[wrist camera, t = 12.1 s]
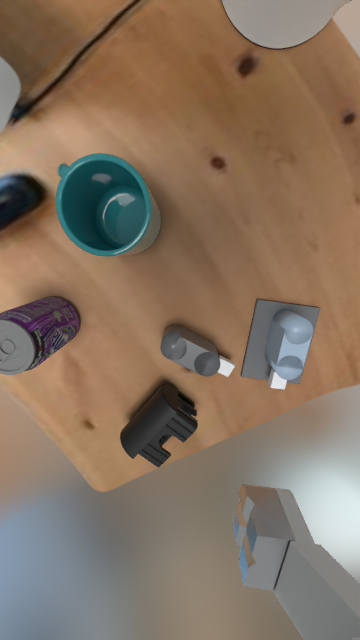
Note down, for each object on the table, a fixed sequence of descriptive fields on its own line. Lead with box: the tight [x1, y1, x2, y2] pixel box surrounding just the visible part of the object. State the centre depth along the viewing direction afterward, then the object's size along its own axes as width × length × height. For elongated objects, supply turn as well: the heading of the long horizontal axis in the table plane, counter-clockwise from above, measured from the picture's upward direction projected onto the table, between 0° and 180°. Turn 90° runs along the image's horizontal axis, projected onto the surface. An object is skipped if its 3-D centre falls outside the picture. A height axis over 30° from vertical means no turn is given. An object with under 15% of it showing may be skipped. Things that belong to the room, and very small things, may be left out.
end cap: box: [120, 385, 198, 467], centre depth 40 cm, size 10×7×7 cm
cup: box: [56, 154, 161, 256], centre depth 30 cm, size 9×12×11 cm
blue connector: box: [265, 309, 313, 389], centre depth 37 cm, size 11×4×5 cm, turn 173°
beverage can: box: [0, 297, 79, 375], centre depth 34 cm, size 7×7×12 cm
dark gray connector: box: [161, 325, 235, 377], centre depth 38 cm, size 11×4×5 cm, turn 62°
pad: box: [241, 299, 320, 384], centre depth 39 cm, size 12×9×1 cm
